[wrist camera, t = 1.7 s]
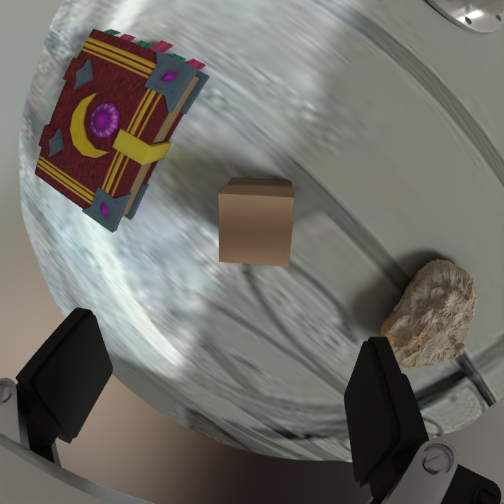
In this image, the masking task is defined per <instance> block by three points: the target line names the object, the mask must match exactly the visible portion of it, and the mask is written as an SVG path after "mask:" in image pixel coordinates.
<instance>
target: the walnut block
mask: <svg viewBox="0 0 504 504" xmlns="http://www.w3.org/2000/svg"><path fill="white" fill-rule="evenodd" d="M293 211H294V192H293V187H292V182H291V181H282V180H265V179H243V178H232V179H231V180H230V181H229V183H228V184H227V185H226V186H225V187H224V188H223V189H222V190H221V191H220V193H219V194H218V214H219V262H230V263H244V264H258V265H273V266H288V267H289V258H290V247H291V236H292V224H293Z"/></svg>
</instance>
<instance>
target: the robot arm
mask: <svg viewBox="0 0 504 504" xmlns="http://www.w3.org/2000/svg"><path fill="white" fill-rule="evenodd" d="M427 1H428V2H429V3H430V4H431V5H432V6H433V7H434V8H435V9H436V10H437V11H438V12H440V13H441V14H442V15H444V16H445V17H446V18H447V19H449V20H450V21H452V22H453V23H455V24H456V25H458V26H460V27H462V28H464V29H466V30H469V31H472V32H475V33H481V34H485V33H491V32H494V31H497V30H498V29H499V28H500V27H501V26H502V24H503V22H504V0H427ZM112 371H113V366H112V363H111V361H110V358H109V355H108V352H107V350H106V347H105V344H104V341H103V338H102V335H101V332H100V328H99V325H98V322H97V319H96V316H95V315H93V313H92V311H91V310H88V309H83V308H79V307H78V308H75V309H74V310H73V311H72V312H71V313H70V314H69V316H68V317H67V318H66V319H65V320H64V321H63V322H62V323H61V324H60V325H59V326H58V328H57V329H56V330H55V331H54V332H53V333H52V335H51V336H50V337H49V338H48V339H47V340H46V341H45V342H44V344H43V345H42V346H41V347H40V348H39V349H38V351H37V352H36V353H35V354H34V355H33V357H32V358H31V359H30V360H29V362H28V363H27V364H26V365H25V366H24V368H23V369H22V370H21V371H20V372H19V374H18V375H17V376H16V379H17V381H18V383H17V385H16V384H15V383H14V381H12V380H11V379H8V378H1V379H0V504H155V503H151V502H148V501H144V500H141V499H138V498H135V497H132V496H129V495H126V494H123V493H120V492H117V491H115V490H112V489H109V488H107V487H104V486H102V485H99V484H96V483H94V482H92V481H89V480H87V479H85V478H83V477H80V476H78V475H76V474H74V473H72V472H70V471H68V470H66V469H64V468H62V467H61V464H60V460H59V456H58V452H57V447H56V443H55V440H56V438H57V437H58V438H59V439H61V440H63V441H65V442H67V443H69V444H70V443H71V441H72V439H73V438H76V437H77V435H78V433H79V432H80V430H81V428H82V426H83V424H84V422H85V421H86V419H87V417H88V415H89V413H90V411H91V409H92V408H93V406H94V404H95V402H96V401H97V399H98V397H99V395H100V394H101V392H102V390H103V388H104V386H105V385H106V383H107V381H108V380H109V378H110V376H111V374H112ZM344 404H345V410H346V417H347V423H348V431H349V438H350V445H351V453H352V462H353V469H354V478H355V481H356V482H360V488H361V489H362V488H369V487H370V489H371V496H373V497H372V498H371V499H370V501H369V502H368V503H367V504H504V503H501V502H500V501H501V492H500V489H499V487H498V485H497V484H496V483H494V482H493V481H491V480H489V479H487V478H485V477H483V476H480V475H479V474H477V473H475V472H472V471H471V470H469V469H467V468H465V467H463V466H461V465H459V464H458V454H457V451H456V449H455V448H454V447H453V446H452V444H450V443H449V442H447V441H445V440H442V439H432V440H429V437H428V434H427V431H426V428H425V425H424V422H423V419H422V416H421V413H420V410H419V407H418V404H417V401H416V399H415V396H414V393H413V390H412V388H411V385H410V382H409V380H408V378H407V376H406V375H405V374H402V373H401V370H400V368H399V365H398V363H397V360H396V357H395V355H394V352H393V350H392V347H391V345H390V342H389V340H388V338H387V337H370V338H369V339H368V341H364V342H363V344H362V347H361V350H360V353H359V356H358V358H357V361H356V364H355V367H354V370H353V372H352V375H351V378H350V380H349V383H348V386H347V388H346V391H345V394H344Z"/></svg>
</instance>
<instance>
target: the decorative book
mask: <svg viewBox="0 0 504 504" xmlns="http://www.w3.org/2000/svg"><path fill="white" fill-rule="evenodd" d="M119 33H121V32H118V31H115V30H112V29H110V30H107V31H104V32H102V31H99V30H96V29H93V30H92V32H91V34H90V35H89V37H88V39H87V41H86V42H85V44H84V46H83V48H82V50H81V52H80V54H79V56H78V58H77V59H76V58H73V59H72V61H71V63H70V65H69V67H68V69H67V71H66V73H65V75H64V78H63V79H64V80H66V83H65V85H64V88H63V90H62V92H61V95H60V97H59V100H58V102H57V105H56V107H55V110H54V112H53V115H52V118H51V121H50V124H49V125H45V126H44V129H43V132H42V135H41V139H40V142H39V146H41V147H42V148H41V152H40V155H39V159H38V162H37V166H36V170H35V174H36V175H37V176H38V177H40V178H41V179H42V180H44V181H45V182H46V183H48V184H49V185H50V186H52V187H53V188H54V189H56V190H57V191H59V192H60V193H61V194H63V195H64V196H65V197H67V198H68V199H70V200H71V201H72V202H74V203H75V204H77V205H78V206H79V207H81V208H82V209H83V210H82V212H84V213H85V214H87V215H88V216H89V217H91V218H92V219H94V220H95V221H96V222H98V223H99V224H101V225H102V226H104V227H105V228H106V229H108V230H109V231H111V232H112V233H113V232H114V231H116V230H117V228H118V225H119V223H120V220H121V218H122V217H123V216H125V217H126V218H128V219H129V220H131V219H132V218H134V215H135V213H136V211H137V208H138V206H139V204H140V202H141V200H142V197H143V195H144V193H145V191H146V189H147V187H148V184H147V182H148V180H149V178H150V176H151V174H152V172H153V170H154V168H155V166H156V164H157V162H158V160H160V159H163V158H164V156H165V155H166V153H167V151H168V149H169V147H170V145H171V142H169V139H170V137H171V135H172V134H173V132H174V130H175V128H176V127H177V125H178V123H179V121H180V120H181V118H182V116H183V114H186V113H187V112H188V110H189V108H190V107H191V105H192V104H193V102H194V100H195V99H196V97H197V96H198V94H199V92H200V91H201V89H202V88H203V86H204V85H205V83H206V82H207V80H208V79H209V76H208V75H206V74H204V73H202V72H200V71H199V70H200V69H202V68H203V67H204V66H205V64H203V63H201V62H199V61H197V60H195V59H192V60H191V61H190V62H188V63H184V62H183V61H184V60H186V59H185V58H183V57H181V56H178V55H176V54H172V55H170V56H169V55H167V54H164V53H163V52H165V51H167V50H169V49H170V48H171V47H172V46H173V45H172V44H169V43H167V42H164V41H162V40H161V41H160V42H159V43H157V44H156V45H155V46H153V47H151V46H152V45H151V44H149V43H146V42H144V41H140V42H138V43H137V44H135V43H132V42H131V41H132V40H133V39H134V38H136V37H133V36H131V35H127V34H124V35H122V36H121V37H120V38H119V37H116V36H114V35H115V34H119ZM149 47H151V48H149ZM148 48H149V49H148Z"/></svg>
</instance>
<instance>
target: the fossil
mask: <svg viewBox="0 0 504 504" xmlns="http://www.w3.org/2000/svg"><path fill="white" fill-rule="evenodd" d="M474 289H475V287H474V283H473V279H472V278H471V277H470V275H469V274H468V273H467V272H466V271H465V270H463V269H461V268H459V267H456V266H455V265H454V264H453V263H451V262H450V261H448V260H439V259H436V260H432V261H430V262H429V263H426V265H425V266H424V267H423V268H421V269H420V270H418V271H417V272H416V274H415V275H414V277H413V278H412V280H411V282H410V283H409V285H408V286H407V287H406V290H405V292H404V294H403V296H402V298H401V300H400V302H399V303H398V304H397V305H396V306H395V307H394V309H393V310H392V312H391V313H390V315H389V317H388V318H386V319H385V320H384V321H383V323H382V326H381V330H380V335H379V337H387V338H388V340H389V342H390V345H391V347H392V350H393V352H394V355H395V357H396V360H397V363H398V364H399V365H401V366H403V367H405V368H412V367H419V366H431V365H435V364H437V363H440V362H442V361H444V360H445V359H447V358H449V359H455V358H456V357H457V356H458V354H463V352H464V350H465V345H464V344H463V341H464V339H465V337H466V335H467V332H468V330H469V328H470V326H471V321H472V318H473V316H474V313H475V311H476V305H477V304H476V298H475V291H474Z"/></svg>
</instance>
